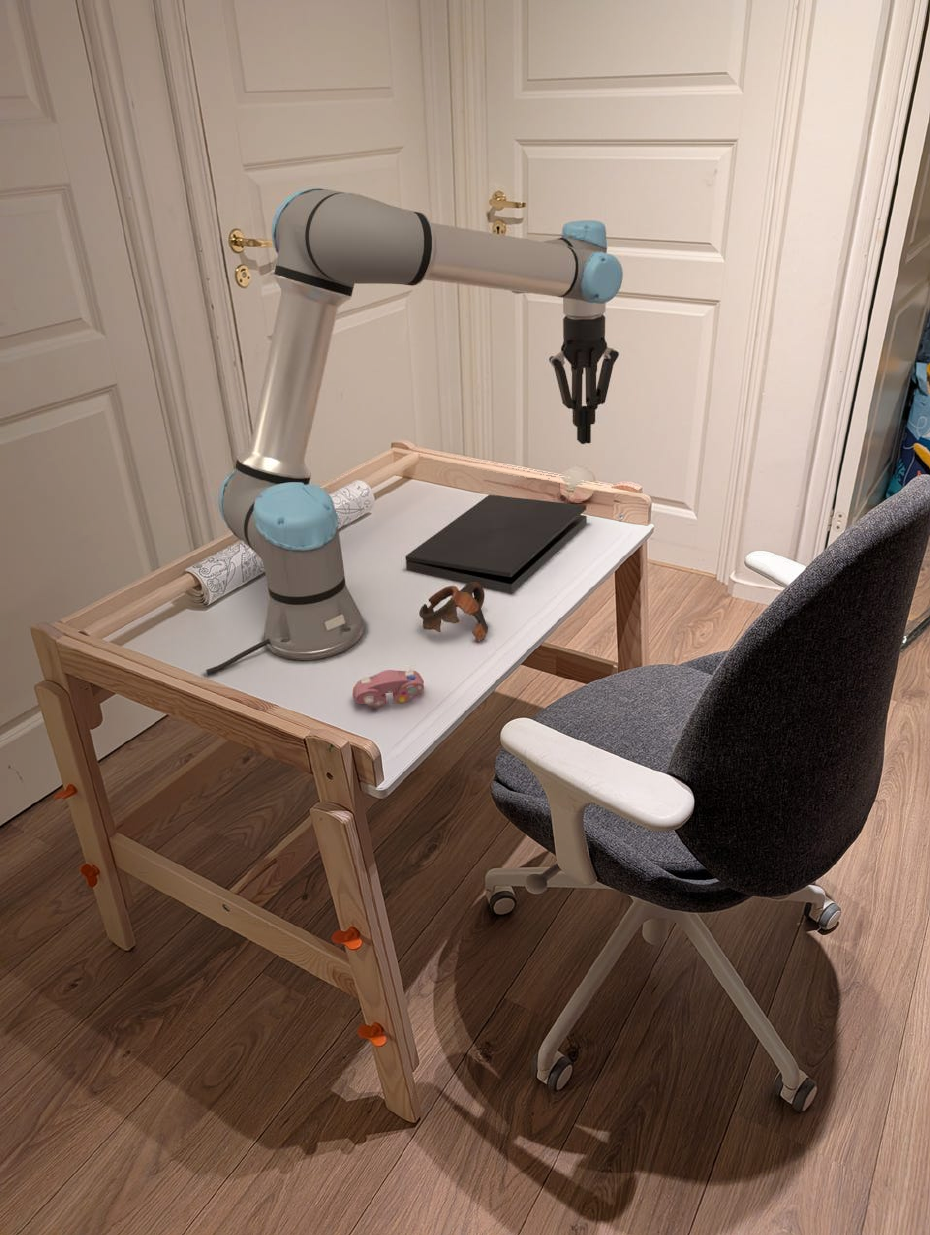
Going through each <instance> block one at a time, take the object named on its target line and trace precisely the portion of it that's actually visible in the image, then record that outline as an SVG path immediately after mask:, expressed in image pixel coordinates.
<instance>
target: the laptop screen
mask: <svg viewBox="0 0 930 1235" xmlns="http://www.w3.org/2000/svg"><path fill="white" fill-rule="evenodd" d="M587 509H588V508H587V505H586V504H579V503H569V502H568V503H567V502H561V501H549V500H541V499H532V498H523V497H514V496H505V495H499V494H498V495H496V494H488V495H487V496H485V497H484V498H483V499H482V500H479V501H478V502H477V503H476V504H474V505H472V506H471V507H470V508H469V509H467V510H466V511H465V512H463V513H462V514H461V515H459V516H458V517H457V518H455V519H454V520H453V521H451V522H450V523H448V524H447V525H446V526H445V527H443V528H442V529H440V530H439V531H438V532H437V533H435V534H434V535H432V536H431V537H430V538H428V539H427V540H426V541H424V542H422V543H421V544H420V545H418V546H417V547H415V548H414V549H413V550H411V552H409V553H407V554H406V555H405V556H404V557H405V561H406V560H407V561H414V562H420V563H426V564H432V565H438V566H444V567H451V568H457V569H463V570H469V571H475V572H482V573H488V574H494V575H500V576H506V577H512V576H513V575H514V574H515V573H516V572H517V571H518V570H519V569H521V568H522V567H523V566H524V565H525V564H526V563H527V562H528V561H529V560H531V559H532V558H533V557H534V556H535V555H536V554H537V553H538V552H539V551H541V550H542V549H543V548H544V547H545V546H546V545H547V544H548V543H550V542H551V541H552V540H553V539H554V538H555V537H556V536H557V535H558V534H560V533H561V532H562V531H563V530H564V529H565V528H566V527H567V526H568V525H570V524H571V523H572V522H573V521H574V520H575V519H576V518H577V517H578V516H580V515H583V513H584V512H585V511H586V510H587Z"/></svg>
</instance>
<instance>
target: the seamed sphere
mask: <svg viewBox="0 0 930 1235" xmlns="http://www.w3.org/2000/svg"><path fill="white" fill-rule="evenodd" d="M561 476H565V477H561ZM561 476H560V477H561V478H562V479H563V481H564V482H565V483H570V484H566V485H568V486H569V487H568V488H567V490H566V491H567V492H568V493H570V492H572V493H573V492H574V491H575V490H574V489H573V490H574V491H573V490H571V489H570V488H573V487H576V486H577V485H583V484H581V483H587V482H585V481H589V482H595V483H597V481H596V480H597V479H596V476H595V475H594V473H593V472H592V470H590V469H589V468H588V467H586V466H582V465H573V466H571V467H568V468H567V469H566V470H564V471H563V472H562V474H561ZM566 477H567V478H566ZM568 477H570V478H568ZM581 480H584V482H583V481H581ZM587 484H588V483H587ZM589 484H590V483H589ZM571 495H572V494H571ZM567 501H568V502H570V503H573V504H580V503H583V502H582V501H581V502H573V501H569V500H567Z"/></svg>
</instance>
